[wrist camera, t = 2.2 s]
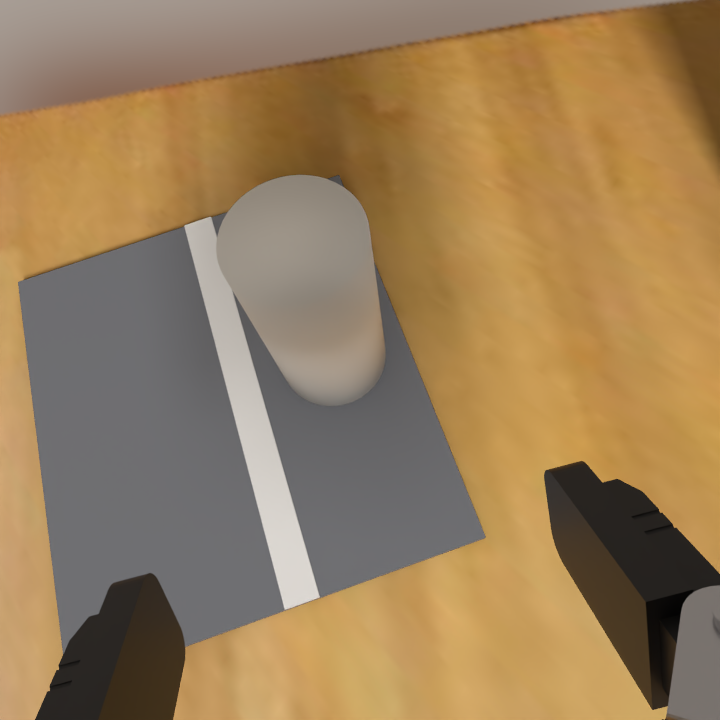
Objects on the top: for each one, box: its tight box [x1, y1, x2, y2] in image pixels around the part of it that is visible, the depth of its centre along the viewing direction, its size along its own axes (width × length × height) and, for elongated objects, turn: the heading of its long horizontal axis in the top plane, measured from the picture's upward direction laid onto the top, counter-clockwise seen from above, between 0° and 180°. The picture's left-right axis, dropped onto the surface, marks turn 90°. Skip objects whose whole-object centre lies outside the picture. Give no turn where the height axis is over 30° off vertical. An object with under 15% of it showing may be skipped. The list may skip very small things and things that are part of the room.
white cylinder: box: [216, 175, 386, 406], centre depth 24 cm, size 5×5×10 cm
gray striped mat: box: [18, 175, 485, 654], centre depth 28 cm, size 18×20×1 cm
